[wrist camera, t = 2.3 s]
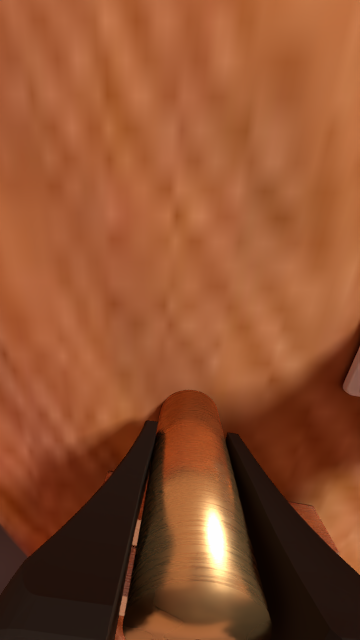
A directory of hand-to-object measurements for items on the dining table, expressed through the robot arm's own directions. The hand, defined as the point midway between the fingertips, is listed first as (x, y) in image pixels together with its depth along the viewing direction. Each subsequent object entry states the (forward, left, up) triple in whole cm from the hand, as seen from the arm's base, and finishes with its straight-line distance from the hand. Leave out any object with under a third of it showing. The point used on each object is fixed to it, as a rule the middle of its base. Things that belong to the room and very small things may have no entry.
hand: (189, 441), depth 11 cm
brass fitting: (0, 0, -2) cm, 2 cm away
